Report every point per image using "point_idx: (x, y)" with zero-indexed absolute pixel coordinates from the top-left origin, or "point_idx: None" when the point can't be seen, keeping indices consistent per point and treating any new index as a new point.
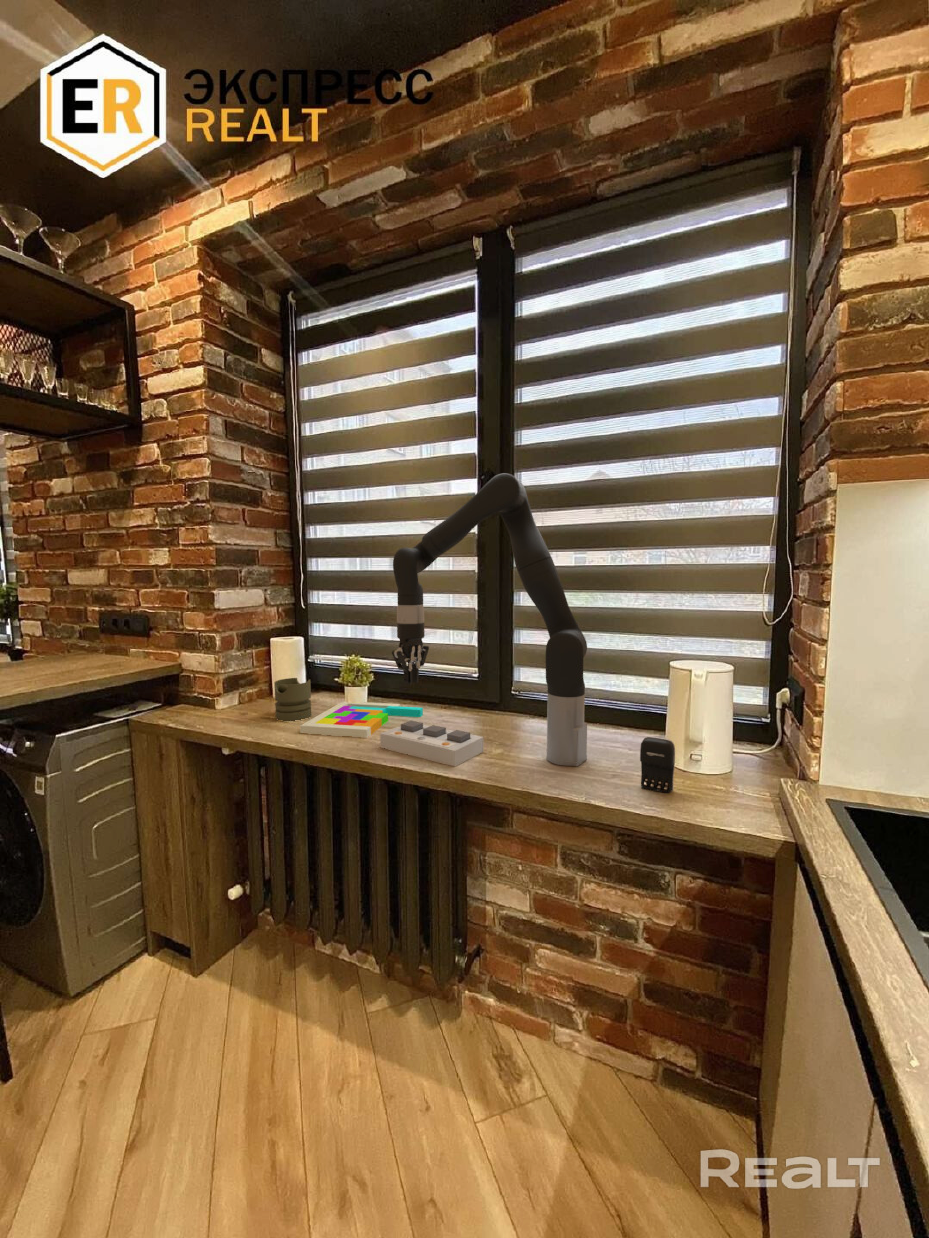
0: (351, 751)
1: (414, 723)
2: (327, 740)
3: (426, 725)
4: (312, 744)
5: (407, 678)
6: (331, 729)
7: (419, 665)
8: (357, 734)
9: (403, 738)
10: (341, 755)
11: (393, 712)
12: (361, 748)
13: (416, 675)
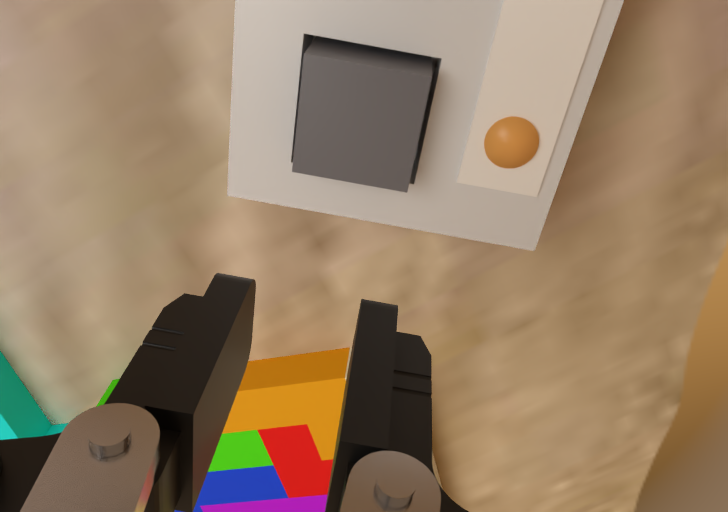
0: (622, 305)
1: (347, 110)
2: (504, 458)
3: (239, 53)
4: (575, 479)
5: (429, 385)
6: None
7: (73, 457)
8: None
9: (598, 52)
10: (692, 316)
11: (21, 407)
12: (563, 286)
13: (227, 344)
